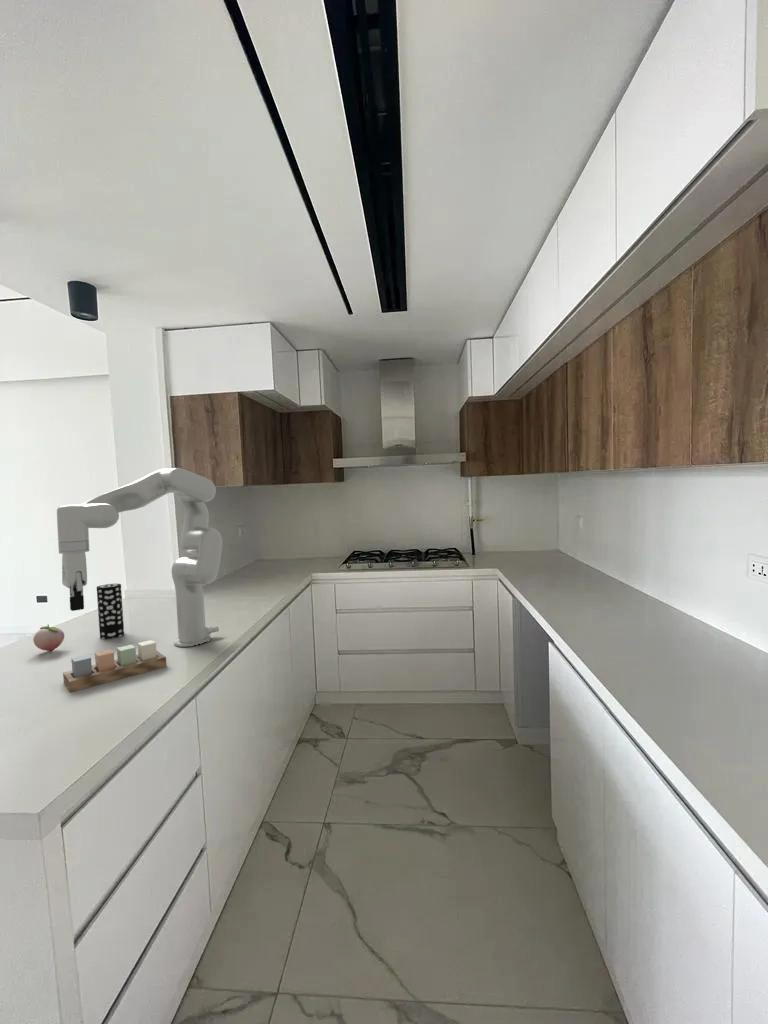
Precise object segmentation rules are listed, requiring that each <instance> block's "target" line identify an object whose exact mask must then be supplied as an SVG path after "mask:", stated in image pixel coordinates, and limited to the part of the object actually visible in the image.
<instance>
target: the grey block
mask: <svg viewBox="0 0 768 1024" xmlns="http://www.w3.org/2000/svg"><path fill="white" fill-rule="evenodd" d="M70 660H71V669H72V670H71V671H72V673H73V676H74V677H75V678H76V677H80V676H84V675H88V674H92V657H91V656H90V655H89V654H83V655H81V656H76V657H71V659H70Z"/></svg>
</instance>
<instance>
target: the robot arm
mask: <svg viewBox="0 0 768 1024" xmlns="http://www.w3.org/2000/svg"><path fill="white" fill-rule="evenodd" d="M216 491H217V488H216V485H215V483H214V482H213V481H212V480H211V479H209V478H207V477H205V476H202V475H200V474H197V473H194V472H192V471H190V470H187V469H184V468H181V467H169V468H160V469H157V470H155V471H152V472H151V473H149V474H147V475H145V476H143V477H141V478H139V479H137V480H135V481H133V482H131V483H129V484H126V485H123V486H121V487H118V488H115V489H113V490H110V491H108V492H107V491H106V492H104V493H102V494H100V495H98V496H95V497H93V498H91V499H89V500H87V501H85V502H83V503H81V504H65V505H60V506H58V507H57V509H56V523H57V542H58V554H61V555H62V556H61V560H62V561H61V582H62V585H63V586H64V587H66V588H68V589H69V610H70V611H72V612H74V611H81V610H84V609H85V598H84V587H86V586H87V584H88V571H87V569H88V568H87V556H86V555H87V554H86V553H88V552H90V535H89V532H90V531H89V529H108V528H111V527H112V526H114V525H116V524H117V523H118V521H119V519H120V514H119V513H123V512H126V511H127V512H128V511H134V510H138V509H140V508H144V507H146V506H147V505H149V504H151V503H152V502H154V501H156V500H159V499H160V498H162V497H164V496H166V495H167V494H168V495H169V494H171V493H173V495H174V497H175V498H176V500H177V501H178V502H179V503H180V505H181V506H182V508H183V512H184V519H183V526H182V531H181V538H180V547H181V549H182V550H183V551H184V552H186V553H190V554H198V556H182V557H179V558H178V559H175V561H174V562H173V564H172V565H171V578H172V581H173V586H174V588H175V589H174V590H175V600H176V601H175V602H176V603H175V604H176V616H177V617H176V618H177V620H176V621H177V633H178V634H177V636H178V637H177V638H175V639H174V640H173V644H174V646H176V647H181V648H183V647H185V648H186V647H195V646H194V645H196V646H199V645H198V644H200V645H203V644H202V643H204V642H206V643H208V642H209V641H210V640H211V639H210V638H212V637H211V634H213V633H218V632H219V630H220V629H219V628H220V627H219V626H214V627H213V626H210V627H209V626H207V625H206V612H205V610H206V609H205V593H204V589H203V586H202V585H207V584H208V585H209V584H211V583H212V582H214V581H215V580H216V578H217V576H218V574H219V570H220V565H221V564H220V563H221V558H222V551H223V543H224V542H223V536H222V535H221V533H220V531H219V530H217V529H216V528H213V527H209V522H210V521H209V519H210V516H209V515H210V514H209V510H208V508H207V505H206V503H208V502H210V501H212V500H214V498H215V496H216V493H217V492H216ZM208 640H209V641H208ZM207 641H208V642H207ZM204 644H205V643H204Z"/></svg>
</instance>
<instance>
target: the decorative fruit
mask: <svg viewBox="0 0 768 1024" xmlns="http://www.w3.org/2000/svg"><path fill="white" fill-rule="evenodd" d="M64 639H65V632H64V631H63V630H62V629H60V628H59V627H56V626H55V627H54V626H51V627H50V626H49V623H47V625H45V626H41V627H39V630H38V631H37V632H36V633H35V634H34V635H33V639H32V641H33V643H34V645H35V647H36V648H38V649H39V650H42V651H47V652H49V651H51V652H53V651H54V650H55V649H57V648H59V646H60V645H62V643H63V641H64Z"/></svg>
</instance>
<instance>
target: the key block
mask: <svg viewBox="0 0 768 1024" xmlns="http://www.w3.org/2000/svg"><path fill="white" fill-rule="evenodd" d="M156 653H157V657H155V658H151V659H147V660H143V661H141V660H140V659H139V655H138V653H136V662H135V663H131V664H127V665H123V666H120V665H119V664H118V658H116V659H114V662H115V668H111V669H107V670H103V671H99V672H98V671H97V670H96V664H93V665H92V674H88V675H84V676H80V677H76V678H75V677H74V676H73V673H72V670H68V671H64V672H62V676H63V684H64V685H65V687H66V688H67V689H68V692H69V693H72V692H77V691H80V690H83V689H87V687H88V688H92V687H94V686H99V685H102V684H101V683H103V684H105V682H106V683H110V682H113V680H114V681H116V680H117V679H118V680H120V678H121V679H125V678H128V676H129V677H132V676H136V675H139V674H143V673H146V672H150V671H155V670H157V669H161V668H165V667H167V666H168V665H167V657H166V655H164V654H162V653H161V652H160V651H158V650H157V649H156ZM124 677H125V678H124ZM109 681H110V682H109ZM98 684H99V685H98ZM91 686H92V687H91Z"/></svg>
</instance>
